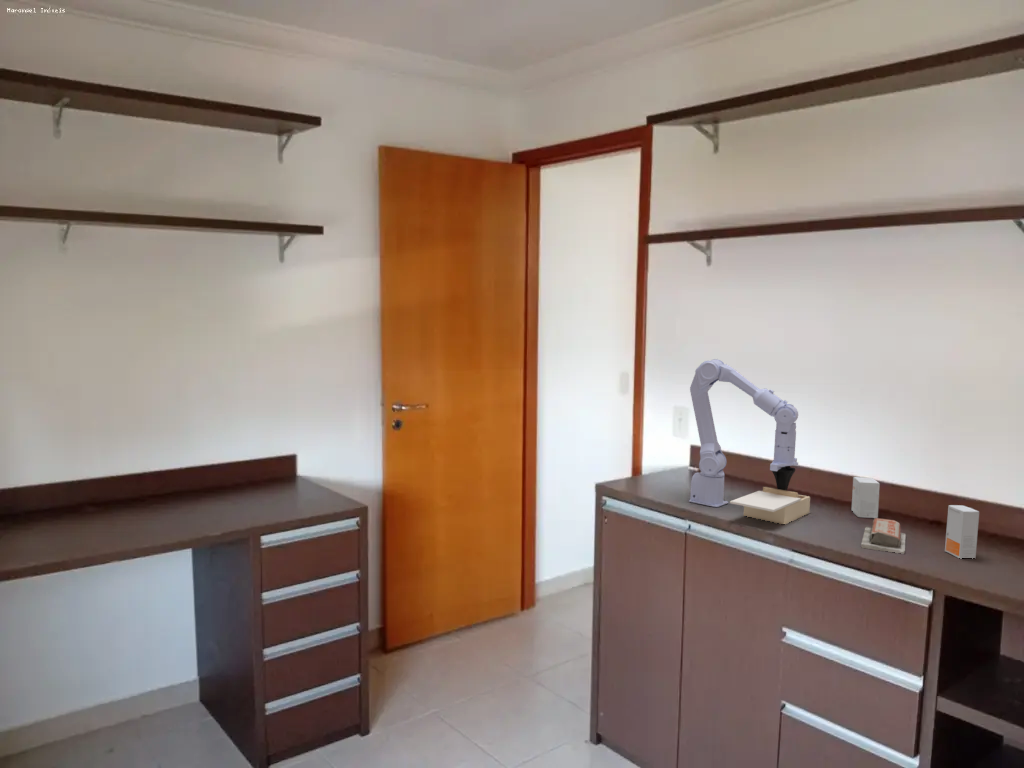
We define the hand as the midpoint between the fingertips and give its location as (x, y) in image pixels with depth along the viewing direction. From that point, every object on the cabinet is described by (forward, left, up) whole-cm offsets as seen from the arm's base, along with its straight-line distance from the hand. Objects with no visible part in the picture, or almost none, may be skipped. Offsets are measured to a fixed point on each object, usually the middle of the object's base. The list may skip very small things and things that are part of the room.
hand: (782, 491), depth 225 cm
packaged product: (+31, -8, -7) cm, 33 cm away
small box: (+18, +17, -7) cm, 26 cm away
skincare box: (+48, -6, -7) cm, 49 cm away
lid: (0, -11, -1) cm, 11 cm away
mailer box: (0, -3, -6) cm, 7 cm away
